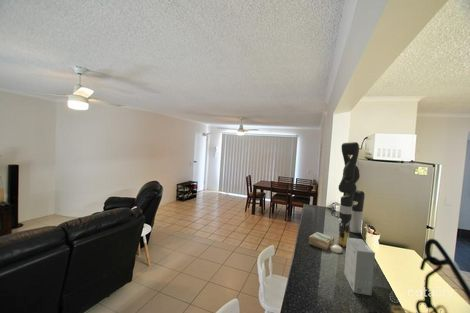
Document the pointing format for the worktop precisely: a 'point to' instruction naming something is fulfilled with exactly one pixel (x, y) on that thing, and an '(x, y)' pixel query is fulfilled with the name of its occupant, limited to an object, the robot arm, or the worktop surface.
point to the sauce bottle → (341, 240)
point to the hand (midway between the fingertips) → (343, 235)
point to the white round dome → (335, 248)
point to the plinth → (321, 240)
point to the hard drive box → (359, 266)
